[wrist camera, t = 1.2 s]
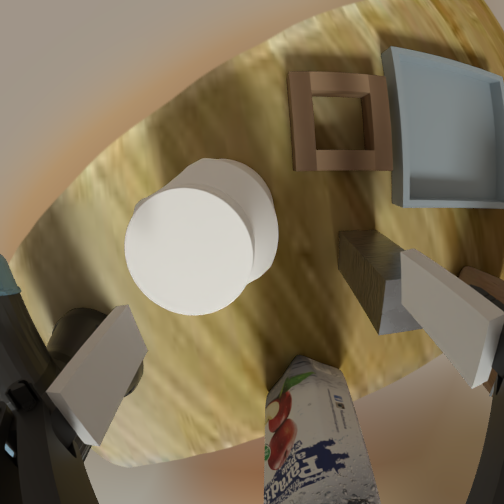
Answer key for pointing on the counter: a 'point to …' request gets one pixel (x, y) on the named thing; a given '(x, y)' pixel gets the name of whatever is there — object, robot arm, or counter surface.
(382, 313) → the grey block
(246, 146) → the counter surface
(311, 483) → the juice carton
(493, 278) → the wooden block
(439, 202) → the tray
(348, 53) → the counter surface
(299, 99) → the hollow square tube
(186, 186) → the jar
